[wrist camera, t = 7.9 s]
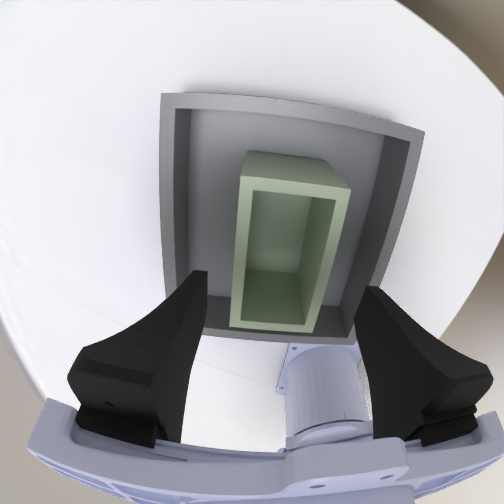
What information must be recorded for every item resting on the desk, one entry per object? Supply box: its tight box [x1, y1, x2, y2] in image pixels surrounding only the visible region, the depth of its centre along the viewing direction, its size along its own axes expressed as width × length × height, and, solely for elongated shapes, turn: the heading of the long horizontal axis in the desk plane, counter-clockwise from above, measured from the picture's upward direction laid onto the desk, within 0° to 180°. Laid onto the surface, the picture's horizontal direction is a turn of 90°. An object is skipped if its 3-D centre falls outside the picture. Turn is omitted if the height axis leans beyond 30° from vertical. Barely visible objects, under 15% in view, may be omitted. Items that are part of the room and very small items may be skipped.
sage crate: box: [229, 150, 351, 333], centre depth 18 cm, size 9×5×6 cm, turn 175°
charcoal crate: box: [159, 93, 425, 345], centre depth 19 cm, size 16×14×4 cm
